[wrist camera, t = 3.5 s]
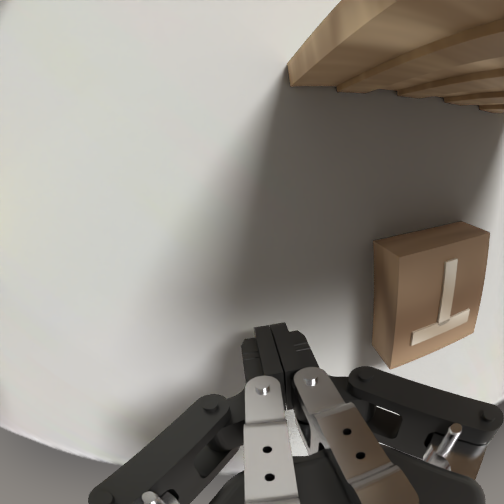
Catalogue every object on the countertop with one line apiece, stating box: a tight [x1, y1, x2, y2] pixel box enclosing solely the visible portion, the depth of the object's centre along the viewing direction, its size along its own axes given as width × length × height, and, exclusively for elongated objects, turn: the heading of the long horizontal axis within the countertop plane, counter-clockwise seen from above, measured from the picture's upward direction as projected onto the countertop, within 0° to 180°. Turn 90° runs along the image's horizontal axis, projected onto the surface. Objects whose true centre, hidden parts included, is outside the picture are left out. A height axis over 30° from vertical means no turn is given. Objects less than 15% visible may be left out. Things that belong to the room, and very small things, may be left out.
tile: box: [372, 221, 490, 369], centre depth 15 cm, size 7×7×3 cm
